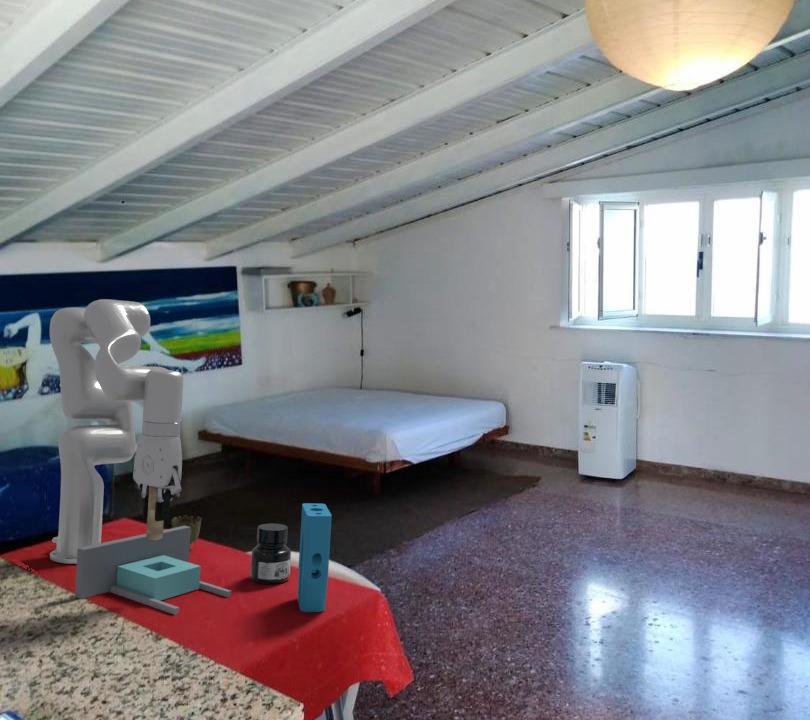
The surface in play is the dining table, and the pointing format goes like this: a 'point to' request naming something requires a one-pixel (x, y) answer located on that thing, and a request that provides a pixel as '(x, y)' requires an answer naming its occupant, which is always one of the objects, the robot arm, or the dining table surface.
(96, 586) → the backstop wall
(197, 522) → the cup
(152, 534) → the dowel
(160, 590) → the socket block
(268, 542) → the ink bottle
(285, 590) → the dining table surface
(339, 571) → the dining table surface
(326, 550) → the block
